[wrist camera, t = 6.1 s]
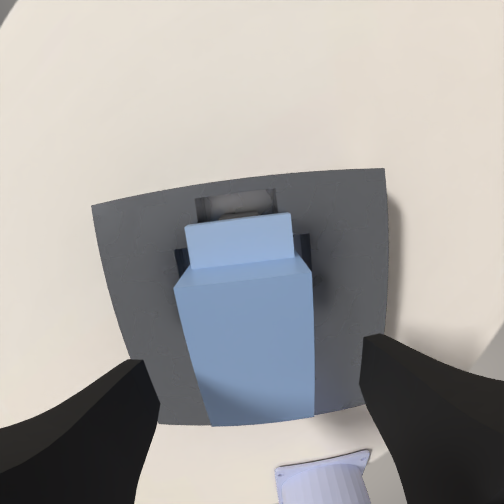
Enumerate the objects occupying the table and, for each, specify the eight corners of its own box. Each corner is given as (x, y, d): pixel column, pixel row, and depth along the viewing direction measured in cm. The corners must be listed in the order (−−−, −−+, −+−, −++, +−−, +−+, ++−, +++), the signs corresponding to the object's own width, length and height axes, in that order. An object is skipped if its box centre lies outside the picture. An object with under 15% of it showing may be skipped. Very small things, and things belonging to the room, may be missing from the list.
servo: (297, 371, 14) (313, 437, 9) (226, 379, 14) (219, 446, 10) (284, 206, 12) (307, 219, 7) (196, 217, 12) (163, 237, 7)
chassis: (359, 376, 15) (373, 401, 12) (168, 396, 15) (159, 423, 13) (361, 170, 12) (384, 168, 10) (116, 201, 12) (91, 205, 10)
